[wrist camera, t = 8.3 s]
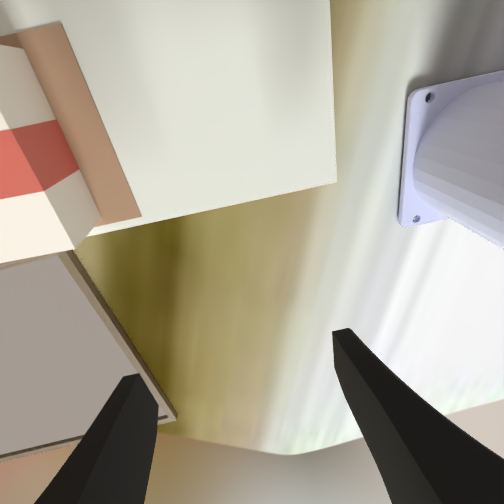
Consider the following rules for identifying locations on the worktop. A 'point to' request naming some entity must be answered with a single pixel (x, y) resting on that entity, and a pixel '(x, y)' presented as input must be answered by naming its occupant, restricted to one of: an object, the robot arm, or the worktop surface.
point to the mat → (184, 98)
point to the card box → (36, 170)
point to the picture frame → (58, 355)
